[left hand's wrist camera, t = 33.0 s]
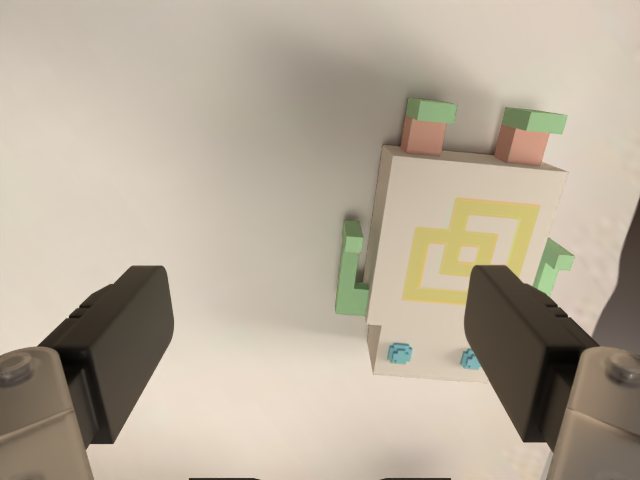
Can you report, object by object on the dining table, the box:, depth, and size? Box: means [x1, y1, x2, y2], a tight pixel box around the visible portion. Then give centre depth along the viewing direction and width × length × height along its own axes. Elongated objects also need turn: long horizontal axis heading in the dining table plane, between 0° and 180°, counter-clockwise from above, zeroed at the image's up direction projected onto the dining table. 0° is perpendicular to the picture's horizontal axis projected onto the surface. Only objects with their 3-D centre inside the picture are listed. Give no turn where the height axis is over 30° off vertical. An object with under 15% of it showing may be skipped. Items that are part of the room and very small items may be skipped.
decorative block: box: [335, 98, 575, 383], centre depth 39 cm, size 26×6×20 cm
